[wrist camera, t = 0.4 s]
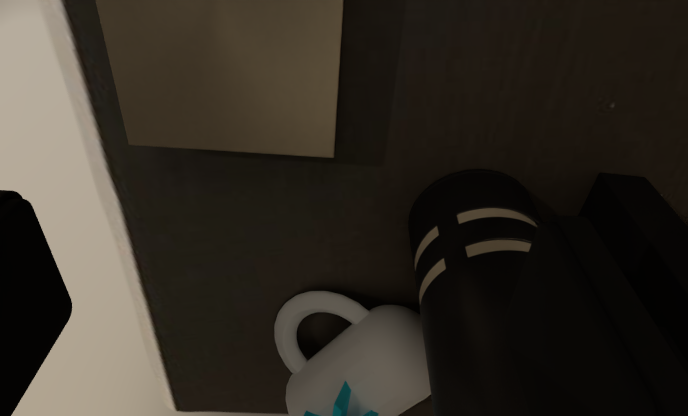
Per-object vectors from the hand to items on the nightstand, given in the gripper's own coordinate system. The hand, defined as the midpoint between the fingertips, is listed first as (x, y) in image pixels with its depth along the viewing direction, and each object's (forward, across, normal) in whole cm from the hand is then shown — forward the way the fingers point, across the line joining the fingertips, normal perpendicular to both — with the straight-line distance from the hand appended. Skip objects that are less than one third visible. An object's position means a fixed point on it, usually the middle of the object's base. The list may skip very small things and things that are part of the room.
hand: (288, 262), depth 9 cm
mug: (+19, -2, +24) cm, 31 cm away
